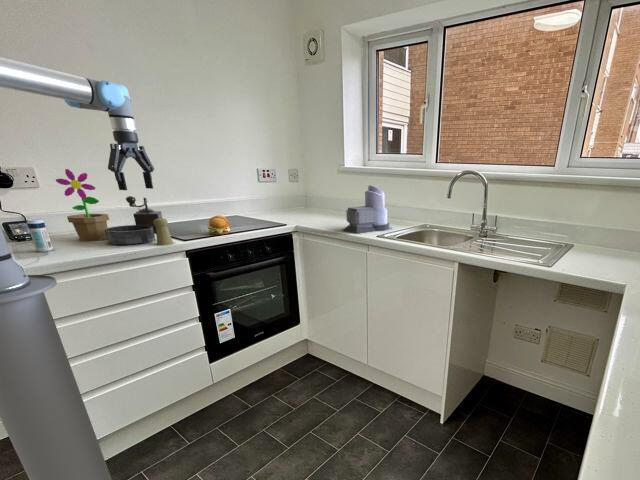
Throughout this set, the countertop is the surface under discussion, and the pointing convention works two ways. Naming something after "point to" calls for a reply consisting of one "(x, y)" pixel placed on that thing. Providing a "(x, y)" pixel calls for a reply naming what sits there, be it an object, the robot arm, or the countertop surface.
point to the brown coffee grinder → (144, 213)
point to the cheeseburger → (218, 225)
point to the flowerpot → (85, 224)
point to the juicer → (368, 213)
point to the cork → (162, 232)
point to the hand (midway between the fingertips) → (137, 189)
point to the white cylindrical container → (39, 235)
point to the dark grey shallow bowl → (129, 234)
